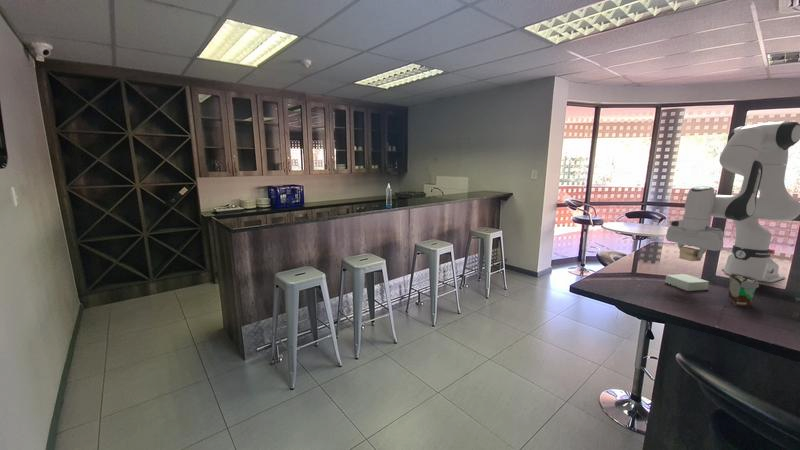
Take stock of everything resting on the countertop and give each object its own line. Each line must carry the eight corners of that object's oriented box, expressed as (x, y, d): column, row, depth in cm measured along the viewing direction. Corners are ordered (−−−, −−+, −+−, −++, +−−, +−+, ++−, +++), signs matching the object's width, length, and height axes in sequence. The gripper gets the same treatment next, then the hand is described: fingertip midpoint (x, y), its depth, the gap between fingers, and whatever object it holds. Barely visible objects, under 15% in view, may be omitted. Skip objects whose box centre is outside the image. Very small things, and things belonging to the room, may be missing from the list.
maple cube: (687, 257, 141) (689, 246, 140) (700, 260, 136) (702, 249, 135) (679, 258, 140) (680, 247, 139) (691, 261, 135) (693, 249, 134)
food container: (760, 310, 116) (766, 285, 114) (737, 307, 119) (742, 281, 117) (747, 299, 126) (752, 275, 124) (726, 296, 129) (730, 272, 127)
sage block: (683, 282, 146) (685, 273, 145) (707, 290, 136) (708, 281, 136) (665, 283, 145) (666, 275, 144) (687, 291, 135) (688, 282, 134)
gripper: (730, 228, 126) (724, 262, 128) (676, 220, 146) (672, 249, 148) (718, 229, 125) (712, 263, 127) (665, 221, 144) (661, 250, 147)
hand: (690, 255), depth 138 cm, fingers closed on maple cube, 5 cm apart
